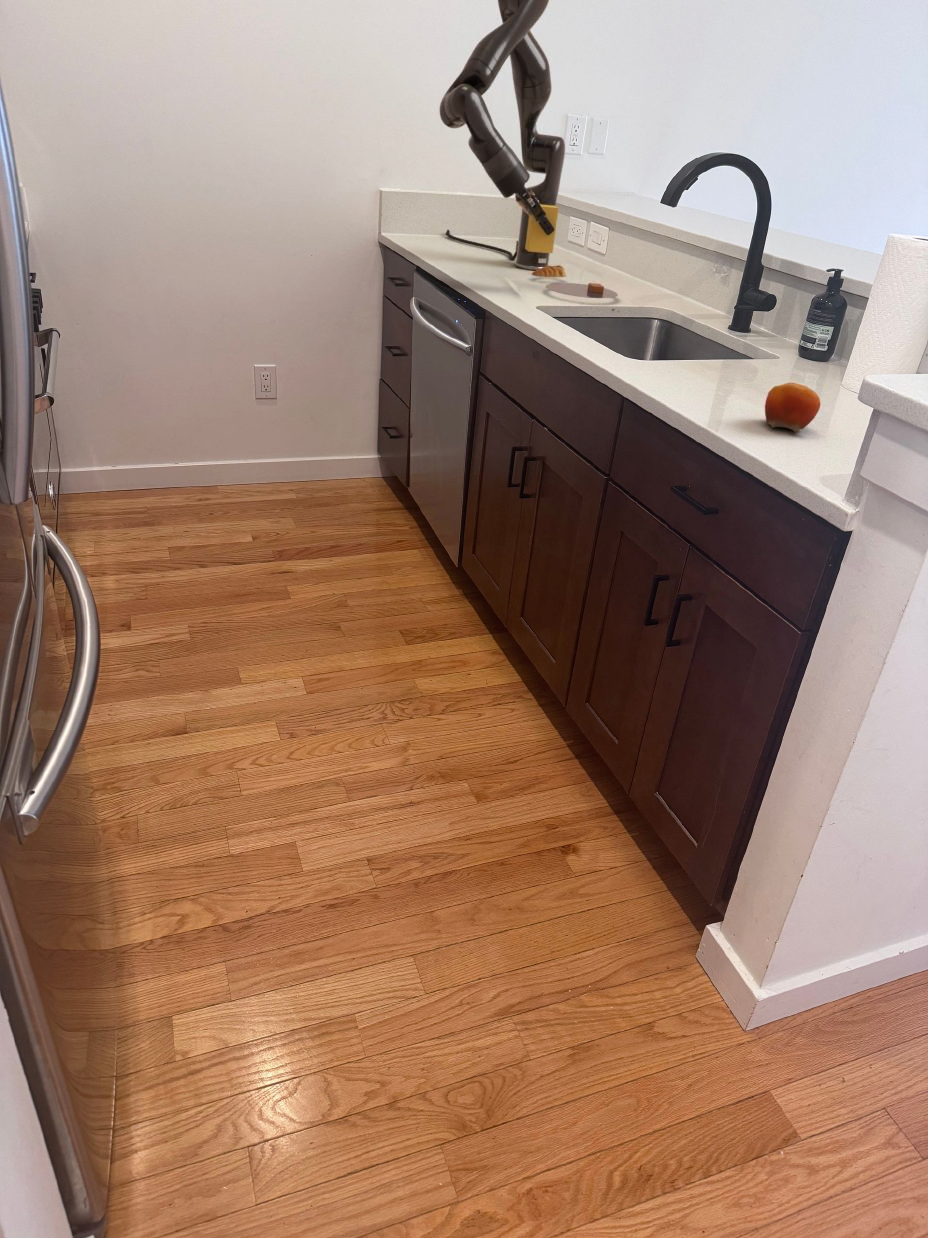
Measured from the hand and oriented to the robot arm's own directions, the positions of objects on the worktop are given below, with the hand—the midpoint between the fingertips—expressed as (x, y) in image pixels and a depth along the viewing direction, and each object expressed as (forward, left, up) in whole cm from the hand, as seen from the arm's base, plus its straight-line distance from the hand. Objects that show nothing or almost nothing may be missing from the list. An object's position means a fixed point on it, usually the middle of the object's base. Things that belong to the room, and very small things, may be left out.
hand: (548, 230), depth 210 cm
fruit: (+97, +19, -14) cm, 100 cm away
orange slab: (0, +14, -13) cm, 19 cm away
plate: (0, +10, -14) cm, 18 cm away
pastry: (-19, +6, -14) cm, 25 cm away
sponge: (0, -2, -5) cm, 5 cm away
